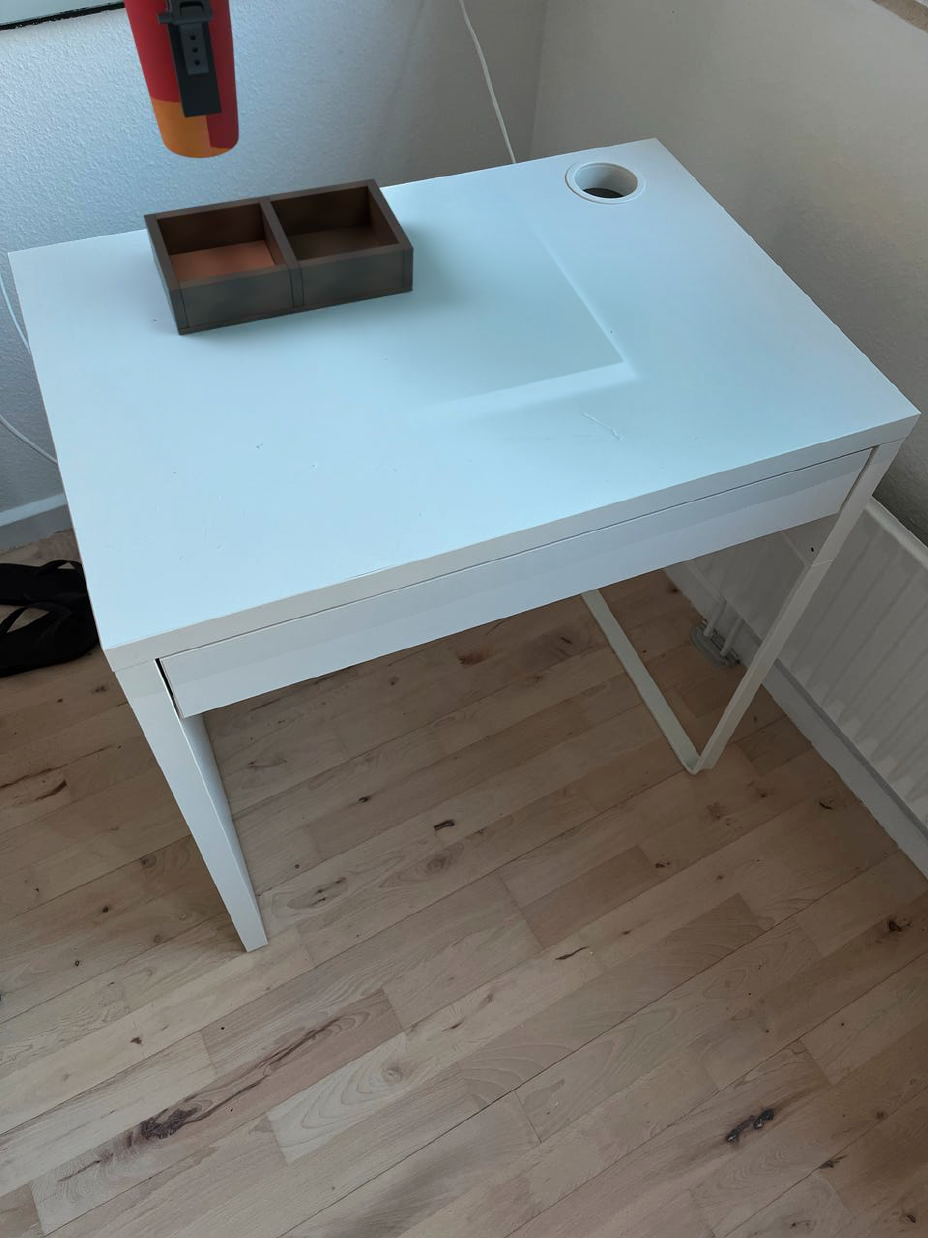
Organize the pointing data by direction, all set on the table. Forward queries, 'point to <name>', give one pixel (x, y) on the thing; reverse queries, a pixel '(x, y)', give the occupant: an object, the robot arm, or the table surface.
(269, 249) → the cup holder
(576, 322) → the table surface
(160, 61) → the coffee cup
